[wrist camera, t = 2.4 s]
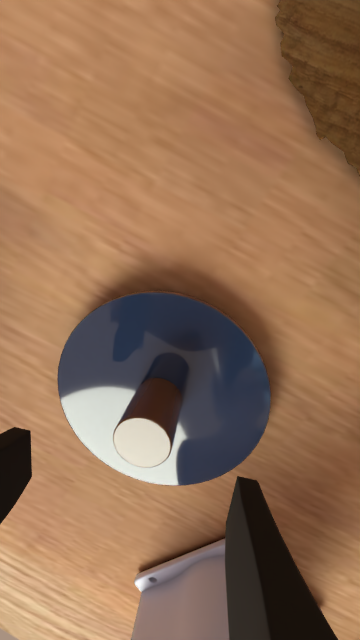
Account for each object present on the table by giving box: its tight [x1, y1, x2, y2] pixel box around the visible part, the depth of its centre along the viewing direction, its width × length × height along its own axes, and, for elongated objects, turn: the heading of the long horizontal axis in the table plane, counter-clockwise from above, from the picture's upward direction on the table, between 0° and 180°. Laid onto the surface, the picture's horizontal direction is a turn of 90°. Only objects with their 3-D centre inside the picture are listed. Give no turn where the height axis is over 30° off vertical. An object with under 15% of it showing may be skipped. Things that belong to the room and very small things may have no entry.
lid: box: [58, 291, 271, 486], centre depth 13 cm, size 11×11×4 cm
